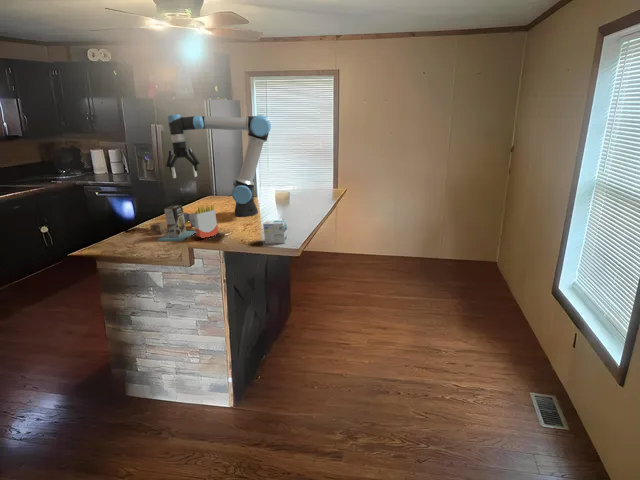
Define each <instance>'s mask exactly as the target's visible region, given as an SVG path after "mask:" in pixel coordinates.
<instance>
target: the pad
mask: <svg viewBox="0 0 640 480" xmlns="http://www.w3.org/2000/svg"><path fill="white" fill-rule="evenodd" d="M194 233H196V230H186V233H185V234H183V235H181V236H179V237H169V234H168V233H165V234H163V235H161V236H160V237H158V238H157V242H184V241H183V240H185V239H186V238H188V237H189V236H191V235H193V234H194ZM193 236H194V235H193ZM188 239H189V238H188ZM185 241H186V240H185Z"/></svg>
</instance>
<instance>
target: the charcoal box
mask: <svg viewBox="0 0 640 480" xmlns="http://www.w3.org/2000/svg"><path fill="white" fill-rule="evenodd" d="M183 214H184V220H185V222H187V223H189V222H188V221H190V218H189V214H190V213H187V212H183Z"/></svg>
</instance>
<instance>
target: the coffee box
mask: <svg viewBox="0 0 640 480" xmlns="http://www.w3.org/2000/svg"><path fill="white" fill-rule="evenodd" d="M183 208H184V207H183V205H182V204H176V205H170V206H168V207H165V208H164V210H163V211H164V215H165V224H166V229H167V234H169V237H179V236H181V235H183V234H185V233H186V231H187V228H186V223H185V220H184V214H183V213H184V209H183Z"/></svg>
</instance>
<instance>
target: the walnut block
mask: <svg viewBox="0 0 640 480" xmlns="http://www.w3.org/2000/svg"><path fill="white" fill-rule="evenodd" d="M149 227H150V228H149V229H150V231H151V235H152V236H163V235H165V234H167V233H168V230H167V225H166V221H165V222H164V221H163V222H162V221H161V222H160V221H159V222H154V223H152V224H150V225H149Z"/></svg>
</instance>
